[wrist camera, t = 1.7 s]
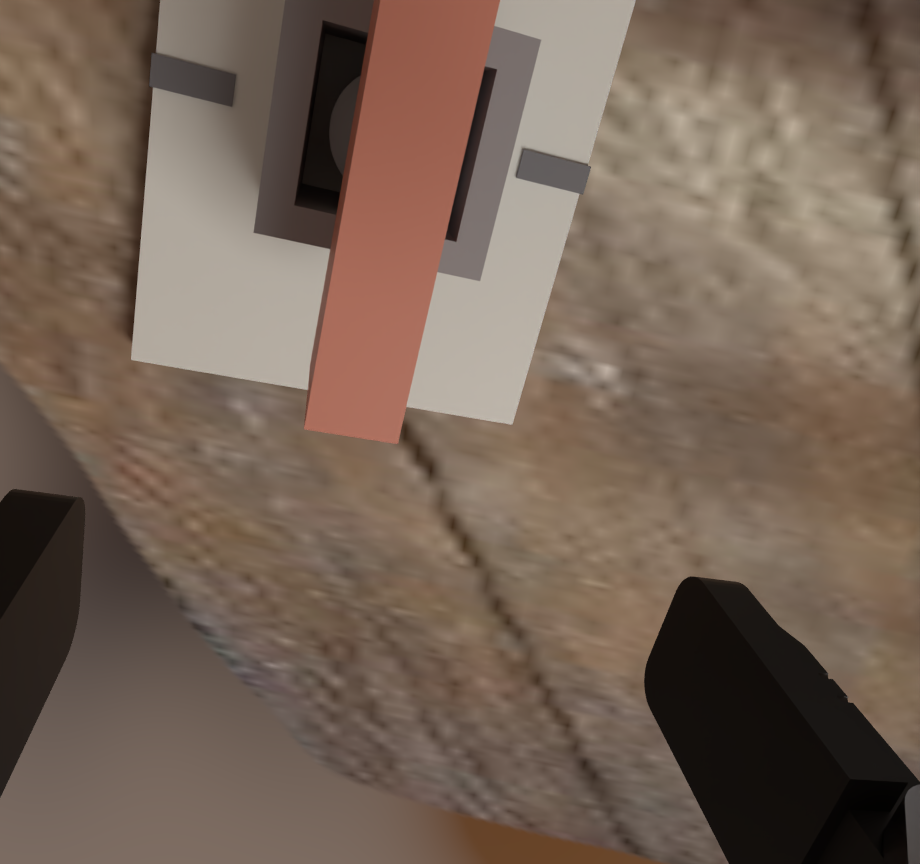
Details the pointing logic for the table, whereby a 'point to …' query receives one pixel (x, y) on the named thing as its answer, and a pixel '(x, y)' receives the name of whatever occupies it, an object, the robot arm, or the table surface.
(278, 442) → the table surface
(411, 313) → the red bar with frame
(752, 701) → the robot arm
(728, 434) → the table surface
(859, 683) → the table surface
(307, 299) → the lock board
